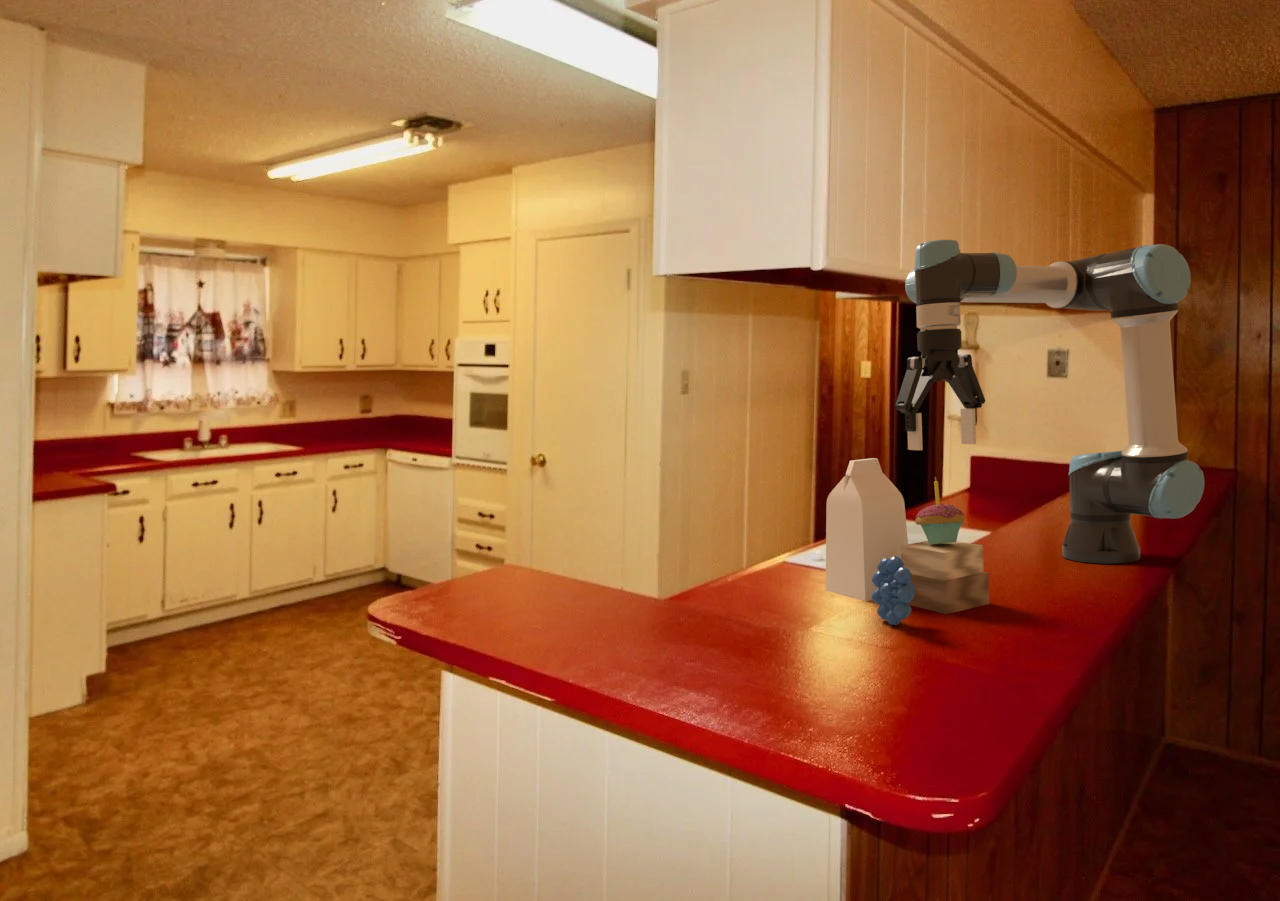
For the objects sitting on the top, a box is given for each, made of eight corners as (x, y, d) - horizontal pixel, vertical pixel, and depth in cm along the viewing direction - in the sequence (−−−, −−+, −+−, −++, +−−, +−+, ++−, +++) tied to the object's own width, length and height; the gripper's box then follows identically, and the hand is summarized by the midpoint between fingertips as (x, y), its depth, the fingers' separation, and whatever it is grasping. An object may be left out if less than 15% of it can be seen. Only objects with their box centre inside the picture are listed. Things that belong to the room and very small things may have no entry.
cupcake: (965, 542, 156) (960, 474, 157) (915, 544, 159) (910, 477, 160) (967, 541, 164) (961, 477, 165) (919, 543, 167) (914, 480, 168)
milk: (865, 601, 167) (860, 463, 165) (825, 590, 177) (820, 460, 175) (912, 591, 172) (908, 458, 170) (871, 581, 182) (867, 455, 180)
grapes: (935, 631, 145) (933, 558, 144) (898, 635, 143) (896, 562, 143) (898, 614, 156) (896, 547, 155) (863, 618, 155) (861, 550, 154)
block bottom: (941, 594, 170) (941, 563, 169) (989, 605, 160) (988, 572, 160) (899, 604, 164) (898, 572, 164) (946, 615, 155) (945, 582, 154)
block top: (940, 564, 169) (939, 538, 168) (983, 572, 160) (982, 545, 159) (901, 572, 164) (900, 545, 163) (944, 581, 155) (943, 552, 155)
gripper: (903, 328, 150) (907, 453, 151) (1003, 326, 162) (1006, 442, 163) (871, 331, 156) (876, 451, 158) (970, 329, 168) (973, 441, 170)
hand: (942, 447), depth 160 cm, fingers open, 13 cm apart
